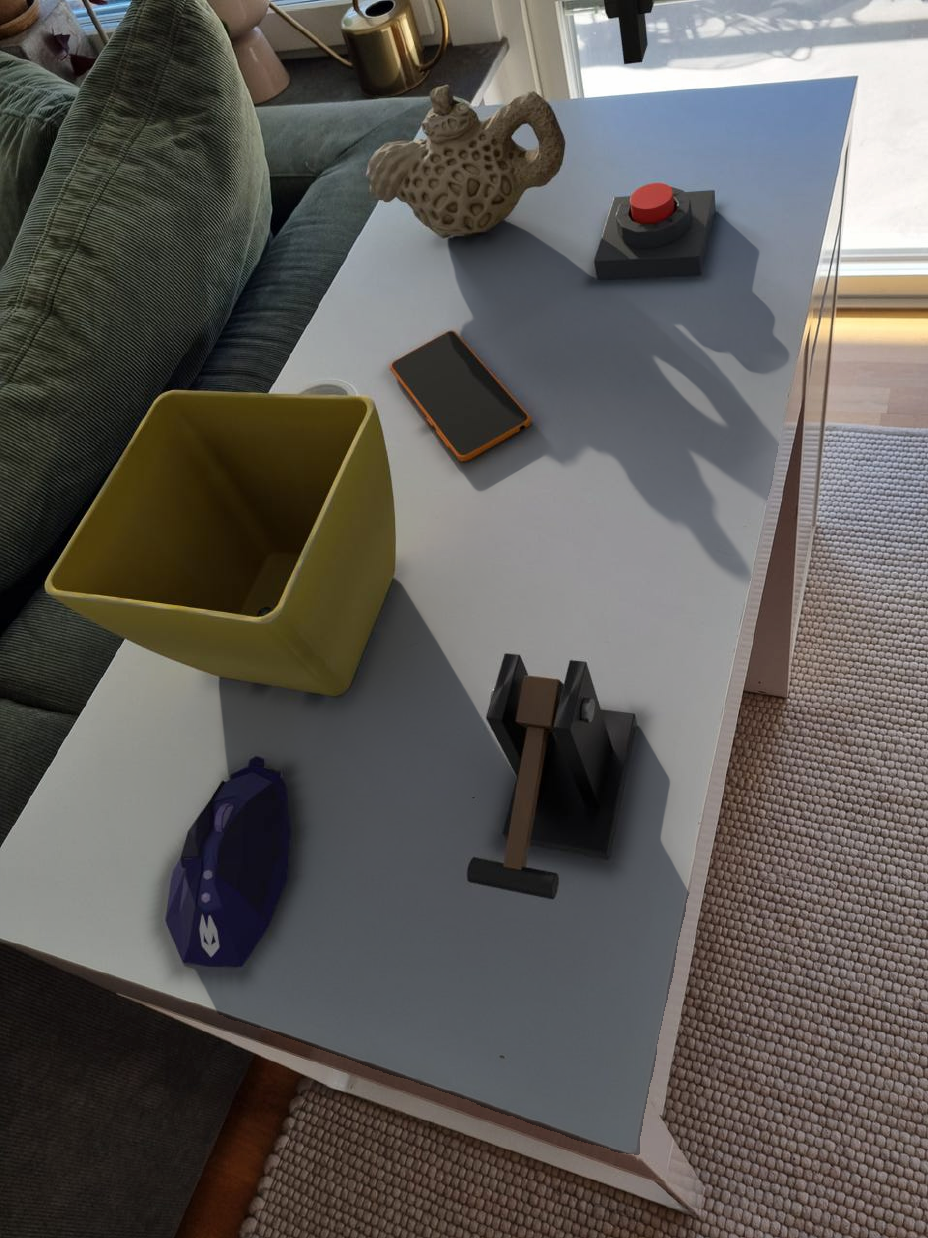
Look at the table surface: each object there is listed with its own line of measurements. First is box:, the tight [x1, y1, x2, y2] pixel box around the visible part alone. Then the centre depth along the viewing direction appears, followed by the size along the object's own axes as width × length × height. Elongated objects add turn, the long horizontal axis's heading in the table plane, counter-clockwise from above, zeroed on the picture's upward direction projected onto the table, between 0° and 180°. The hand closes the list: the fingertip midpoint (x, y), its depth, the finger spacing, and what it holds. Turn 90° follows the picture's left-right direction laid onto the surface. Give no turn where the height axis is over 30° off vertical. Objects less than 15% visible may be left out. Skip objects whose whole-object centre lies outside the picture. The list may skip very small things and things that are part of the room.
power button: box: [630, 182, 675, 224], centre depth 89 cm, size 4×4×2 cm
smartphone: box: [389, 329, 532, 462], centre depth 88 cm, size 8×17×1 cm, turn 27°
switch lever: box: [466, 674, 564, 900], centre depth 54 cm, size 12×5×2 cm, turn 164°
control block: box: [593, 186, 717, 281], centre depth 91 cm, size 10×10×4 cm
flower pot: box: [44, 389, 397, 697], centre depth 71 cm, size 19×19×17 cm
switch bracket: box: [485, 652, 638, 860], centre depth 59 cm, size 10×7×13 cm
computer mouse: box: [164, 755, 292, 968], centre depth 66 cm, size 9×15×4 cm, turn 173°
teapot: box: [365, 84, 566, 239], centre depth 96 cm, size 21×12×15 cm, turn 82°
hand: (635, 53), depth 78 cm, fingers closed
